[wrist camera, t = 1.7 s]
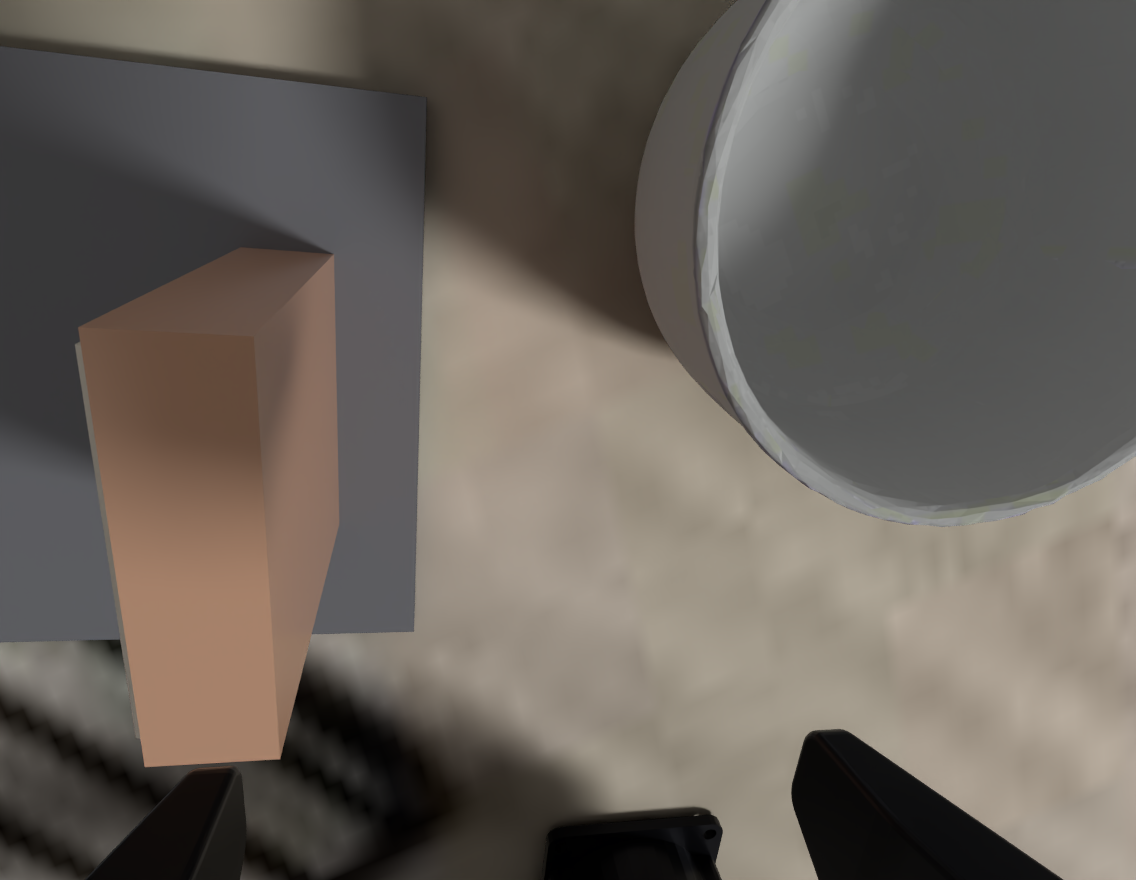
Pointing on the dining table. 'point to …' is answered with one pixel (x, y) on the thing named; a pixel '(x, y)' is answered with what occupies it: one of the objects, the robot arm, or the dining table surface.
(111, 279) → the mat
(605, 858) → the robot arm
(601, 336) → the dining table surface
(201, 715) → the tile
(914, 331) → the teacup
